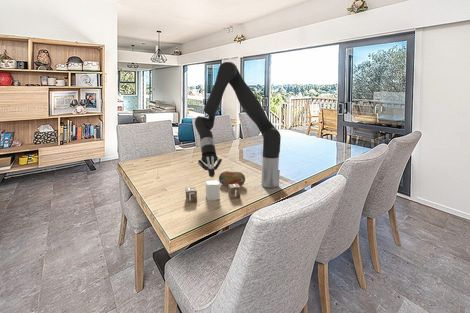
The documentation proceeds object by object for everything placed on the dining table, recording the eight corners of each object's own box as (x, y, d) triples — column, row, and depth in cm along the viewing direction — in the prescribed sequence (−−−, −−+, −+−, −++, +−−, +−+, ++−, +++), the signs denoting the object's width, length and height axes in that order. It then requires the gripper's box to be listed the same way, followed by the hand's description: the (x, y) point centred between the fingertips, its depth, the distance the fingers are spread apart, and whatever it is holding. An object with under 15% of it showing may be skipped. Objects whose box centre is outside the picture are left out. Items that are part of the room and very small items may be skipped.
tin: (218, 185, 155) (218, 171, 153) (220, 183, 158) (220, 169, 156) (244, 187, 151) (244, 173, 149) (245, 185, 154) (245, 171, 152)
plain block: (217, 194, 141) (217, 180, 139) (219, 199, 135) (219, 184, 133) (205, 195, 139) (205, 181, 137) (207, 200, 134) (207, 185, 132)
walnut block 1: (237, 194, 142) (237, 183, 140) (240, 198, 137) (240, 186, 135) (228, 195, 140) (228, 184, 139) (230, 199, 136) (230, 187, 134)
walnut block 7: (195, 198, 136) (195, 186, 135) (197, 202, 131) (196, 190, 130) (185, 199, 135) (185, 187, 133) (186, 203, 130) (186, 191, 129)
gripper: (196, 144, 139) (199, 174, 130) (221, 143, 142) (226, 172, 134) (195, 152, 145) (198, 180, 137) (219, 150, 148) (223, 178, 140)
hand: (212, 176), depth 135 cm, fingers closed
